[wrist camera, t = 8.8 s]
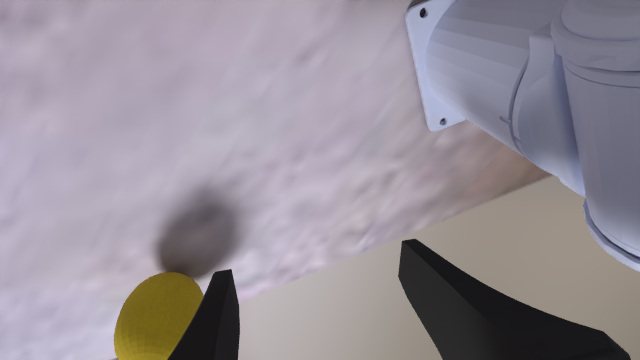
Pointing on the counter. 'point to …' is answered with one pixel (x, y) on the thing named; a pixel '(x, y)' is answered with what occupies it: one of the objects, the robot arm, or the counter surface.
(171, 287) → the lemon
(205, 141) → the counter surface
